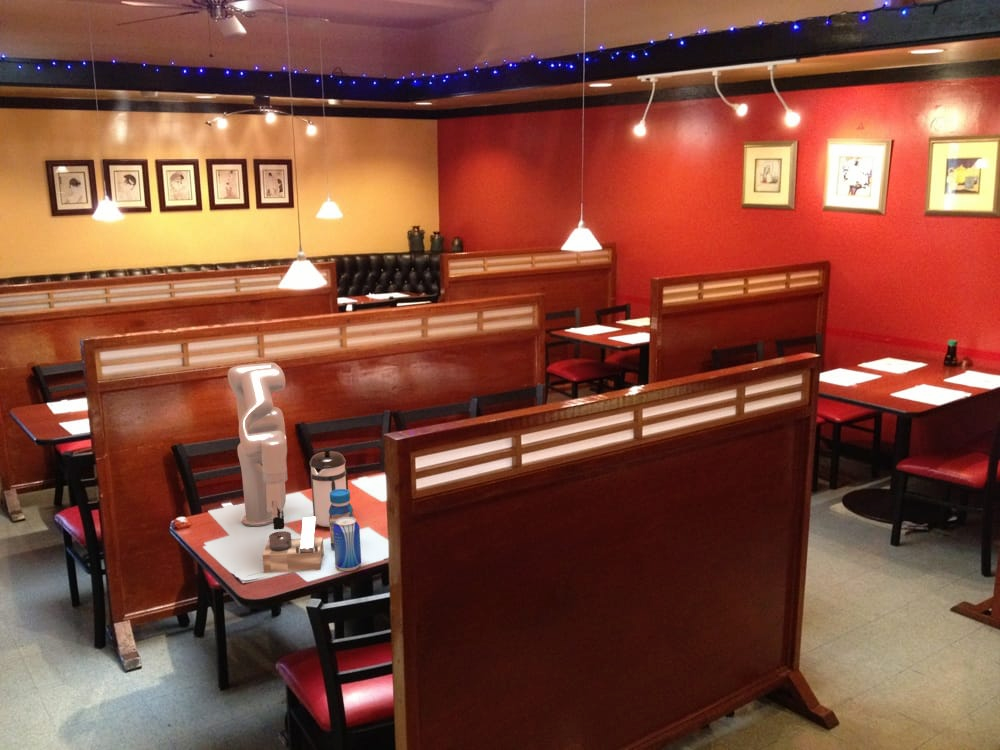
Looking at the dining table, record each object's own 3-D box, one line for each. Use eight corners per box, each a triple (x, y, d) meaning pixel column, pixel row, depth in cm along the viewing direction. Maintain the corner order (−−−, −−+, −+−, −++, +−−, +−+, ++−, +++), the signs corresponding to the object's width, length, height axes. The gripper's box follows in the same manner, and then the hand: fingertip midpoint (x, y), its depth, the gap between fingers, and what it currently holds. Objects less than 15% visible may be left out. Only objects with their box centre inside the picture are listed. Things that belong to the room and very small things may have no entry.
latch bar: (303, 519, 282) (303, 516, 281) (315, 519, 283) (315, 516, 282) (300, 553, 272) (299, 550, 271) (313, 553, 273) (312, 550, 272)
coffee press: (358, 528, 306) (354, 450, 299) (314, 536, 300) (309, 455, 293) (349, 512, 322) (344, 436, 315) (306, 518, 316) (301, 442, 309)
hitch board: (269, 556, 284) (268, 535, 282) (323, 553, 286) (322, 532, 284) (263, 572, 272) (261, 550, 270) (320, 569, 274) (318, 547, 272)
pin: (272, 558, 281) (270, 531, 279) (294, 557, 282) (292, 530, 280) (269, 567, 275) (267, 540, 272) (291, 566, 275) (289, 539, 273)
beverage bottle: (360, 544, 292) (357, 490, 288) (343, 553, 285) (340, 498, 281) (342, 539, 297) (339, 486, 292) (325, 548, 290) (321, 493, 285)
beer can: (332, 563, 278) (330, 518, 274) (357, 559, 281) (355, 514, 278) (338, 574, 270) (335, 527, 267) (364, 569, 274) (361, 523, 270)
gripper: (267, 468, 279) (271, 519, 283) (259, 484, 264) (263, 538, 269) (290, 467, 279) (293, 518, 284) (283, 483, 265) (287, 537, 269)
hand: (279, 528), depth 276 cm, fingers closed
